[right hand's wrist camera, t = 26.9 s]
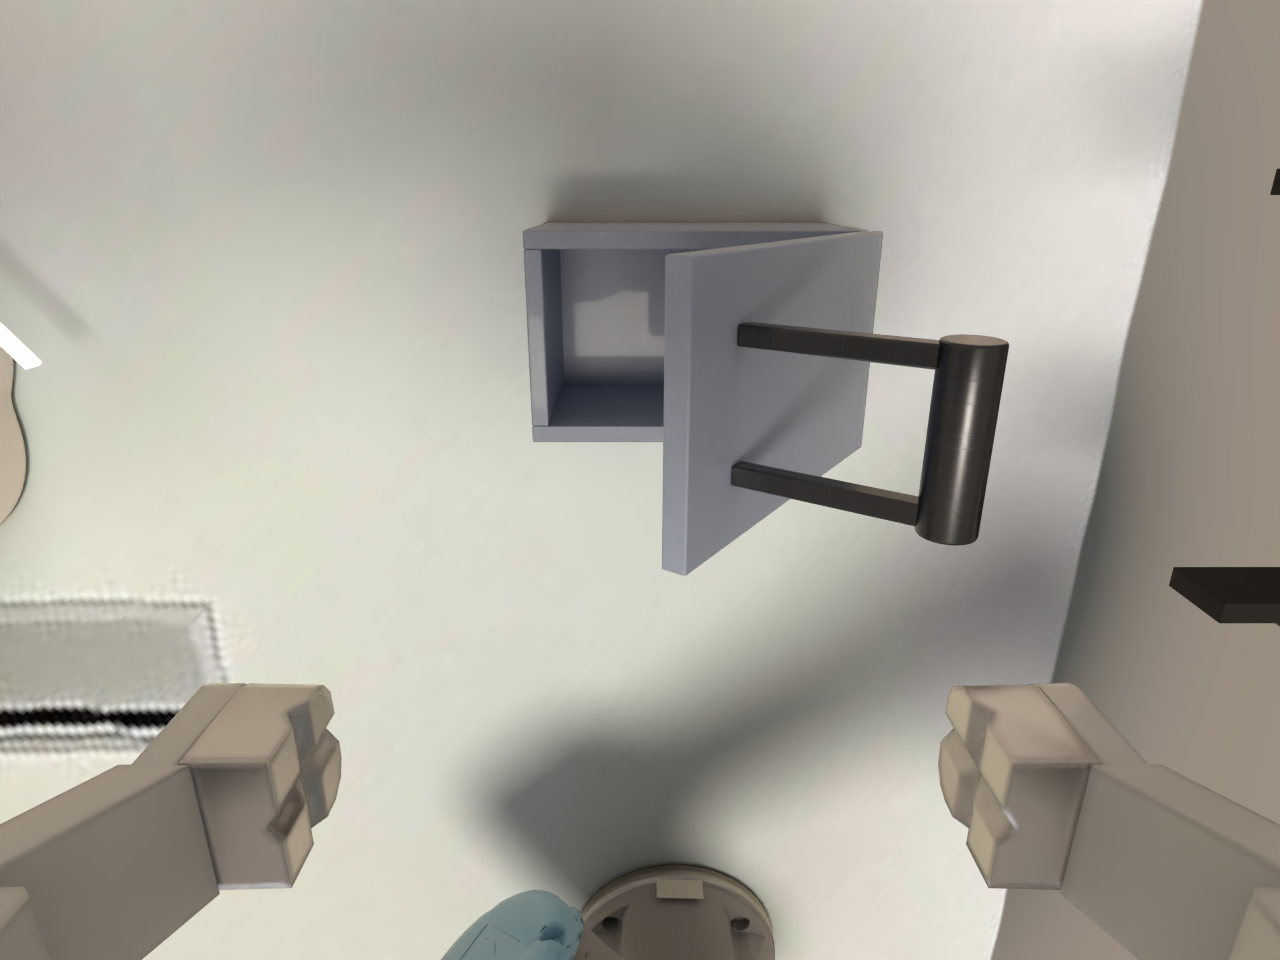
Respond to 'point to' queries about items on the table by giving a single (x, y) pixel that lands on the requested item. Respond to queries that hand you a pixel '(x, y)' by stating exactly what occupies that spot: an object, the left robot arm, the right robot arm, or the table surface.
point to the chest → (613, 319)
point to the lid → (804, 395)
